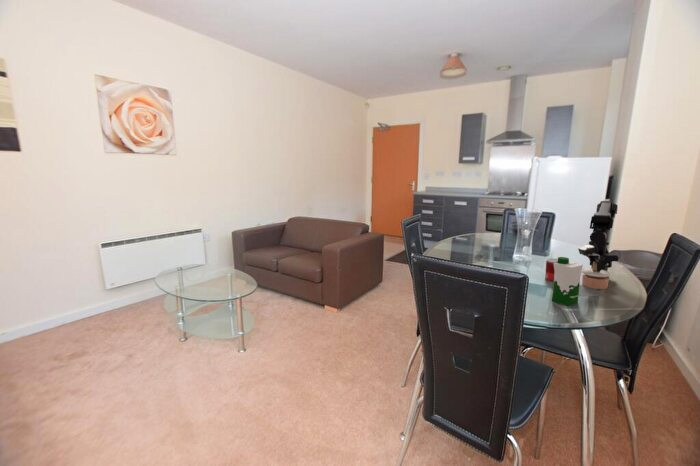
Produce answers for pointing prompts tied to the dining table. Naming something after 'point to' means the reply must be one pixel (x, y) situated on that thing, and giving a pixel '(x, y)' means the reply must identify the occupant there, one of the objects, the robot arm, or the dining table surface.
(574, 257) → the dining table surface
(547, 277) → the canned food
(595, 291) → the mat
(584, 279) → the bowl
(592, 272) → the lid
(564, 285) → the milk carton
